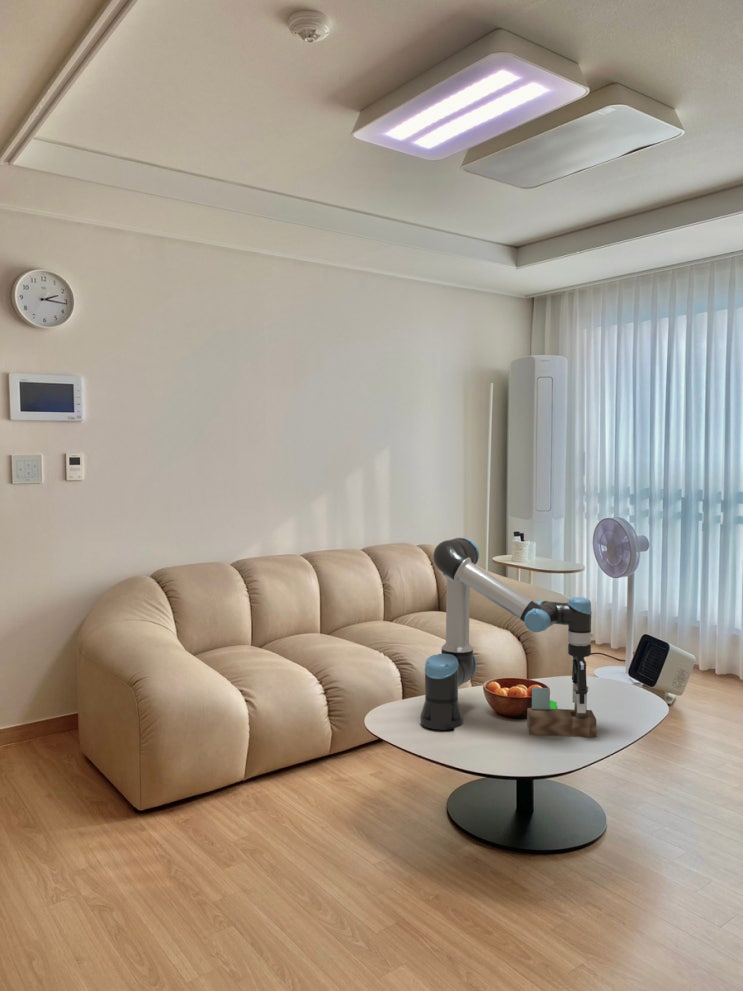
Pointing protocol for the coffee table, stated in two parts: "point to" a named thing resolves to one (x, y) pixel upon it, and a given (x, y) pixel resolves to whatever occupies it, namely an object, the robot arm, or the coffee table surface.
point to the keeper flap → (540, 699)
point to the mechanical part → (553, 705)
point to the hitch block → (560, 723)
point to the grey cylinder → (577, 715)
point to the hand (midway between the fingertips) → (578, 707)
